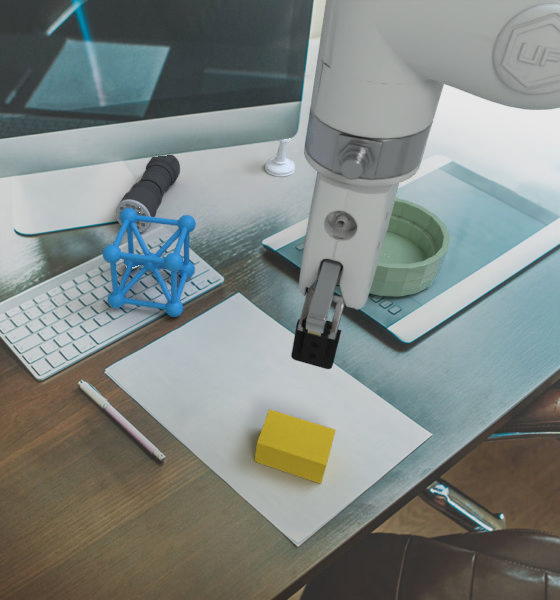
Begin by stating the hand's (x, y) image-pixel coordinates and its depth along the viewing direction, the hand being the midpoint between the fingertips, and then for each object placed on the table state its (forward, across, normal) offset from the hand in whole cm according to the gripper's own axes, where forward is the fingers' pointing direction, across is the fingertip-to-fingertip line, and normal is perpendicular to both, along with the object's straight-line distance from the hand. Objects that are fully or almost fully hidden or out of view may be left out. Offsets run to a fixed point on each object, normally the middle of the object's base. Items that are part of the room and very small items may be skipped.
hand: (325, 320), depth 54 cm
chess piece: (+20, +53, +16) cm, 59 cm away
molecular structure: (+20, +18, +24) cm, 36 cm away
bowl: (+20, +35, -3) cm, 41 cm away
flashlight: (+20, +36, +32) cm, 52 cm away
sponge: (+20, 0, 0) cm, 20 cm away
